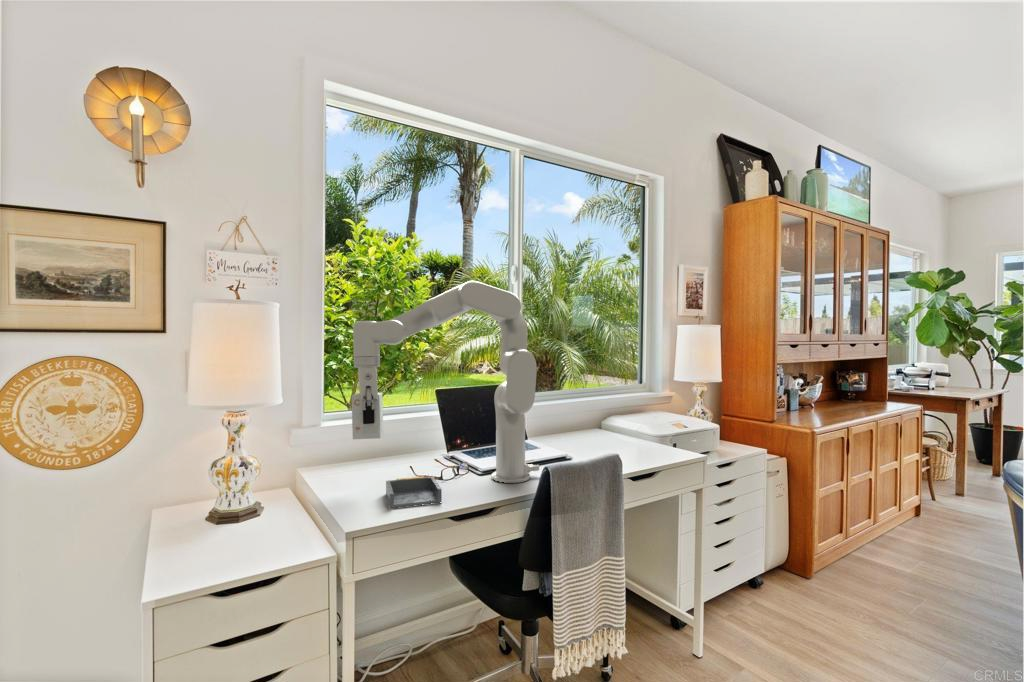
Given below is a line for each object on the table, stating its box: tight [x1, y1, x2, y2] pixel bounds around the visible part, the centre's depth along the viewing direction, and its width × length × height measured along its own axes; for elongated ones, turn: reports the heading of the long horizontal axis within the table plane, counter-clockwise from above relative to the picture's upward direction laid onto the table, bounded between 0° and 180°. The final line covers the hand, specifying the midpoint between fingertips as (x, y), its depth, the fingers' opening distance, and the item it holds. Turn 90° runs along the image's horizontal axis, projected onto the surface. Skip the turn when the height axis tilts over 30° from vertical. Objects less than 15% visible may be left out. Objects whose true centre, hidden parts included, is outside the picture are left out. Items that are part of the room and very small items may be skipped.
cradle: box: [385, 475, 443, 509], centre depth 145 cm, size 14×13×4 cm
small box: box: [351, 392, 384, 440], centre depth 152 cm, size 8×6×13 cm
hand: (368, 420), depth 152 cm, fingers closed on small box, 7 cm apart
